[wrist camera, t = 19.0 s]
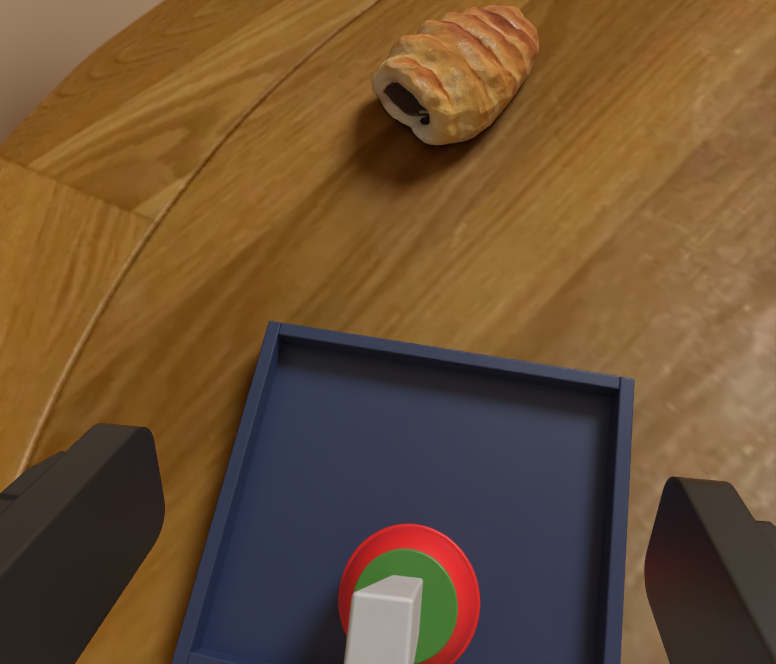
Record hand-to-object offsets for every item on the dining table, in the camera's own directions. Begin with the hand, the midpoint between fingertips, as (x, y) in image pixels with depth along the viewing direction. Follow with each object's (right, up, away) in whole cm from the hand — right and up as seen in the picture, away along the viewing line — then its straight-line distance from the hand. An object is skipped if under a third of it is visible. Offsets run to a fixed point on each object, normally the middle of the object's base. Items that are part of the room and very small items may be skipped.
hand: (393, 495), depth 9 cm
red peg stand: (+1, -8, +14) cm, 16 cm away
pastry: (+4, +16, +24) cm, 29 cm away
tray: (+1, -5, +16) cm, 17 cm away
